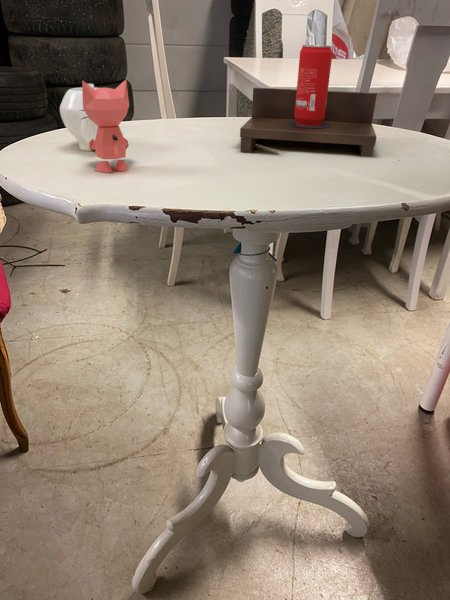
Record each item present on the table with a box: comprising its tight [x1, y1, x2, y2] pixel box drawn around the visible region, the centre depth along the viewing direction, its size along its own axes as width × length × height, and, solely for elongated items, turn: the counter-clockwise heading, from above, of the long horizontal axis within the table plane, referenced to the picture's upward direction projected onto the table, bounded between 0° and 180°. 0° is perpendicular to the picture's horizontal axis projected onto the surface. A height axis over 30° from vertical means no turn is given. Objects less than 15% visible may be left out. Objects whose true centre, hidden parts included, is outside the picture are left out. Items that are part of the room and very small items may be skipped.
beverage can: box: [294, 44, 333, 126], centre depth 78 cm, size 5×5×12 cm
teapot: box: [59, 83, 99, 152], centre depth 78 cm, size 10×20×9 cm, turn 13°
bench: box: [239, 87, 378, 158], centre depth 81 cm, size 22×13×9 cm, turn 78°
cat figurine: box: [80, 79, 130, 173], centre depth 66 cm, size 7×7×12 cm
